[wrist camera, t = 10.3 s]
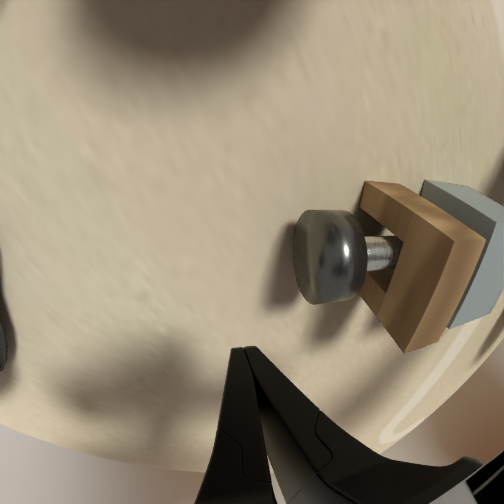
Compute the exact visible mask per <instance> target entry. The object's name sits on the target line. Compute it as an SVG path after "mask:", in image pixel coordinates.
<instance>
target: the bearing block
mask: <svg viewBox="0 0 504 504" xmlns="http://www.w3.org/2000/svg"><path fill="white" fill-rule="evenodd" d="M421 197H423V198H424V199H426V200H428V201H429V202H431V203H433V204H434V205H436V206H437V207H439V208H440V209H442V210H444V211H445V212H447V213H448V214H450V215H451V216H453V217H454V218H456V219H457V220H459V221H460V222H462V223H463V224H465V225H466V226H468V227H469V228H471V229H472V230H473V231H475V232H476V233H478V234H479V235H480V236H482V237H483V238H485V239H486V242H485V245H484V247H483V250H482V252H481V255H480V257H479V260H478V262H477V265H476V267H475V269H474V272H473V274H472V276H471V278H470V281H469V283H468V285H467V287H466V289H465V291H464V293H463V296H462V298H461V300H460V302H459V304H458V306H457V308H456V310H455V311H454V313H453V315H452V317H451V319H450V321H449V323H448V325H447V327H448V328H449V329H451V328H454V327H456V326H459V325H462V324H464V323H467V322H470V321H472V320H475V319H477V318H480V317H482V316H485V315H487V314H490V313H491V311H492V310H493V308H494V306H495V304H496V302H497V300H498V298H499V296H500V294H501V292H502V290H503V288H504V207H503V206H502V205H500V204H498V203H497V202H495V201H493V200H491V199H490V198H488V197H486V196H485V195H483V194H481V193H479V192H477V191H476V190H474V189H472V188H470V187H467V186H462V185H456V184H449V183H443V182H436V181H429V180H425V181H424V185H423V189H422V193H421Z"/></svg>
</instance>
